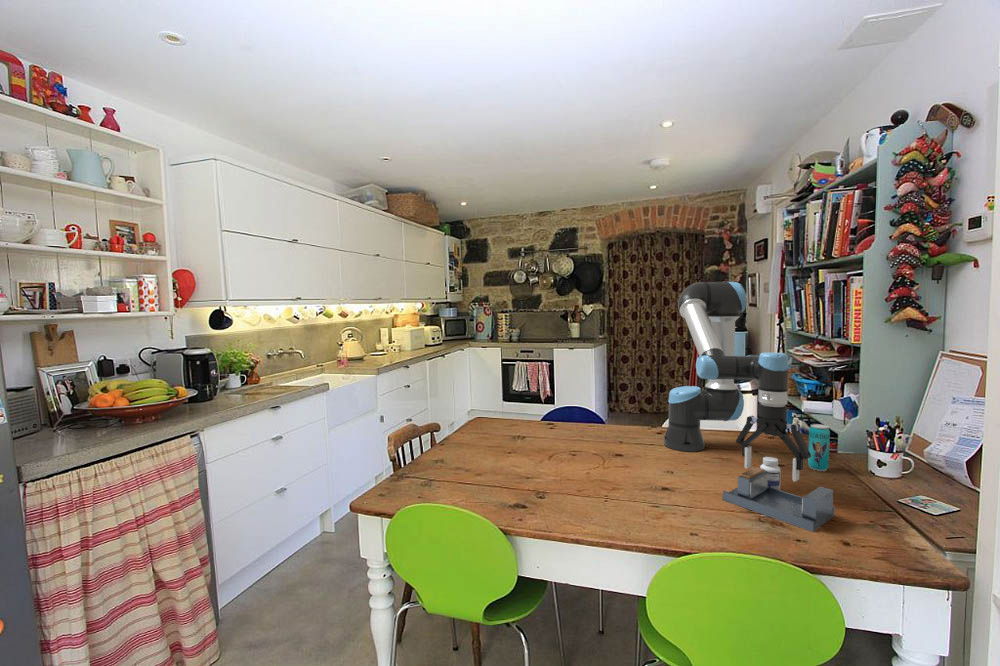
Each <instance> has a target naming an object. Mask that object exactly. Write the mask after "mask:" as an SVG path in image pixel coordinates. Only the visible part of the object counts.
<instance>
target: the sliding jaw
mask: <svg viewBox="0 0 1000 666" xmlns="http://www.w3.org/2000/svg"><path fill="white" fill-rule="evenodd" d="M767 484H768V474H767V471H766V470H765V469H761V468H760V467H757V466H756V467H753V468H751V469H749V470H747V471H744V472H742V473H740V475H738V476H737V488H738V496H741V497H744V498H747V499H750V500H751V499H752V498H754V497H756V496H758V495H760V494H762V493H764V492H765V491H767Z"/></svg>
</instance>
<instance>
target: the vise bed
mask: <svg viewBox="0 0 1000 666" xmlns="http://www.w3.org/2000/svg"><path fill="white" fill-rule="evenodd" d="M722 500H723V501H724V502H727V503H730V504H732V505H736V506H739V507H741V508H744V509H747V510H750V511H752V512H755V513H758V514H760V515H764V516H766V517H770V518H773V519H775V520H777V521H780V522H785V523H786V524H790V525H793V526H795V527H798V528H801V529H803V530H807V531H810V532H811V533H813V532H815V531H817V529H819V528H820V527H822V526H823V525H824V524H826V523H827V522H828V521H830V520H831V519H832V518H834V516H835V506H834V490H833V489H832V488H826V487H824V486H819V487H817V488H815V489H814V490H812V491H810V492H809V493H807V494H806V495H804V496H801V495H796V494H794V493H790V492H787V491H784V490H781V489H780V490H777V489H774V488H771V487H768V486H767V491H765V492H764V493H762V494H760V495H758V496H756V497H754V498H752V499H751V500H750V499H747V498H744V497H741V496H738V487H736V488H734V489H732V490H730V491H726V490H723V491H722Z"/></svg>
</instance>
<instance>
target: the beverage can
mask: <svg viewBox="0 0 1000 666" xmlns="http://www.w3.org/2000/svg"><path fill="white" fill-rule="evenodd" d="M829 428H830V426H828V425H826V424H820V423H811V424H810V427H809V431H808V450H809V452H810V454H811V457H810V458H808V459H807V464H808V467H809V469H811V470H812V469H813V470H812V471H815V470H817V471H816V472H821V471H823V472H826V471H827V470H828V468H829V465H830V464H829V463H830V438H831V431H830V429H829Z"/></svg>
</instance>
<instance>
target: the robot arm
mask: <svg viewBox="0 0 1000 666" xmlns="http://www.w3.org/2000/svg"><path fill="white" fill-rule="evenodd" d="M677 301H678V302H677V308H678V312H679V314H680V316H681V317H682V319H685V323H686V324H687V328H688V329H689V333H690V335H691V338H692V340H693V343H694V345H695V348H696V351H697V354H698V357H697V358H696V362H695V369H696V375H697V376H698V377H699V378H700V379H703V380H704V379H706V380H709V381H708V382H706V384H705V385H704V390H702V389H701V387H699V386H696V385H692V386H691V385H685V386H678V387H675V388H672V389H671V390H670V391H669V394H668V400H667V401H668V426H667V428H666V431H665V434H664V437H663V446H665V447H666V448H668V449H671V450H674V451H675V450H676V451H681V452H699V451H700V452H701V451H703V450H704V449H705V440H704V436H703V434H702V430H701V421H722V422H728V421H731V422H732V421H737V420H738V419H739V418H740V417H741V416H742V413H743V411H744V407H745V399H744V395H743V393H742V392H741V391H740V390H738V389H739V387H738V386H737V384H736V383H735V380H754V381H755V380H756V381H758V392H757V393H758V399H757V401H758V404H757V417H755V416H754V415H749V416H747V417H746V421H745V424H744V426H743V428H742V429H741V431H740V433H739V434H738V436H737V438H736V439H735V443H736V444H739V445H740V446H741V455H742V457H744V467H743V468H744V469H750V468H751V467H752V446H750V444H752V443H753V442H754V441H755V440H756V439H757V438H759V437H760V436H761V435H762V434H763V433H764V435H767V436H768V435H771V436H773V437H778V438H779V439H780V440H782V442H783V443H784V444H785V445H786V448H788V450H789V451H790V452H791V453H792V455H793V456H794V458H792V478H791V479H792V482H797V481H799V480H800V471H802V470H803V469H804V460H808V458H810V457H811V454H810V452H809V447H808V445H807V444H806V442H805V440H804V438H803V436H802V433H801V432H800V424H799V423H794V424H793V423H788V406H786V405H787V404H788V384H789V383H788V382H789V368H790V366H789V365H790V364H789V356H788V355H787V354H786V353H785V352H774V351H773V352H772V351H770V352H768V351H765V352H761V353H760V354H759V355H758V354H749V355H735V340H736V339H735V338H736V337H735V336H736V321H737V320H738V319H739V318H741V313H743V312H744V311H745V310H746V307H747V293H746V290H745V289H744V287H743V285H742V284H741V283H739V282H736V281H704V282H703V281H699V282H694V283H691V284H690V285H688V286H687V287H685V288H684V289H683V291H682V292H681V294H680V295H679V297H678V300H677ZM754 424H757V426H758V428H757V429H756V430H754V432H753V433H752V434H751V435H749V436H748V437H747V435H748V434H749V432H750V431H751V429H752V427H753V425H754ZM788 429H789V431H790V433H791V435H792V437H793V439H794V441H795V442H794V441H793V439H792V438H791V437H790V435H789V433H788V431H787V430H788ZM746 437H747V438H746Z"/></svg>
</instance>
